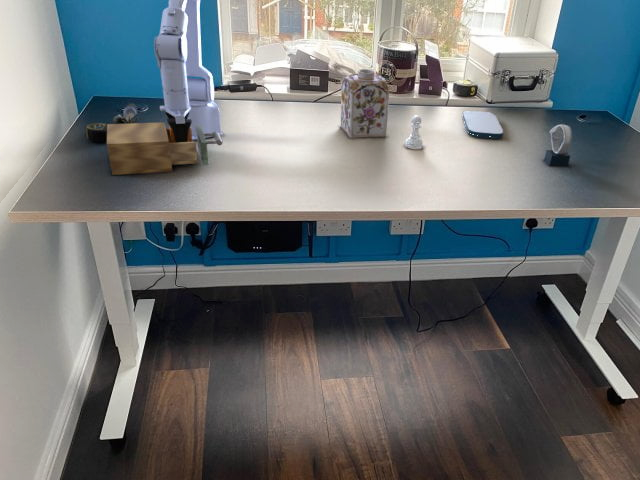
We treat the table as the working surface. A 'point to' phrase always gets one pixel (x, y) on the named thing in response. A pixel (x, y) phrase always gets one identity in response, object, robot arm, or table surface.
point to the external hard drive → (482, 124)
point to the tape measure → (96, 132)
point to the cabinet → (138, 148)
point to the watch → (559, 153)
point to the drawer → (192, 148)
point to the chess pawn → (414, 135)
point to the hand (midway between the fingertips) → (181, 143)
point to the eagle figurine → (126, 115)
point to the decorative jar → (364, 105)
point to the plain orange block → (174, 136)
